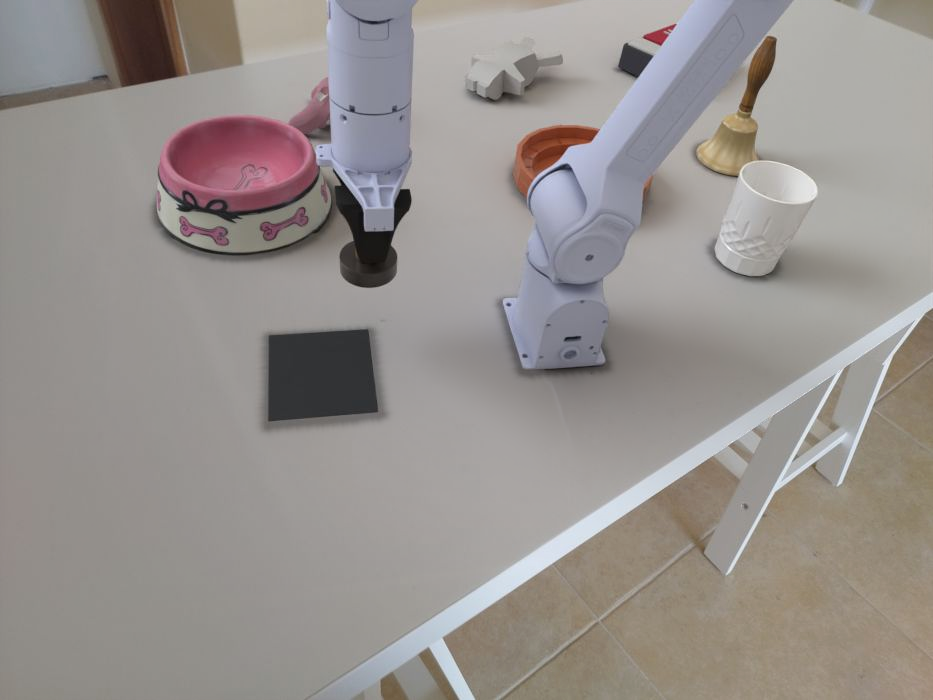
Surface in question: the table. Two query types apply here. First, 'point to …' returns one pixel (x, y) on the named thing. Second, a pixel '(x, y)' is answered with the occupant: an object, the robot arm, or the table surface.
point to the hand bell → (740, 121)
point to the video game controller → (314, 110)
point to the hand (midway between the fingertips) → (371, 249)
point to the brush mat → (320, 375)
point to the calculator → (642, 50)
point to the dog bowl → (240, 186)
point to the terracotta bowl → (550, 152)
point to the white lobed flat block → (508, 68)
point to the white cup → (763, 216)
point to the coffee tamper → (366, 268)
